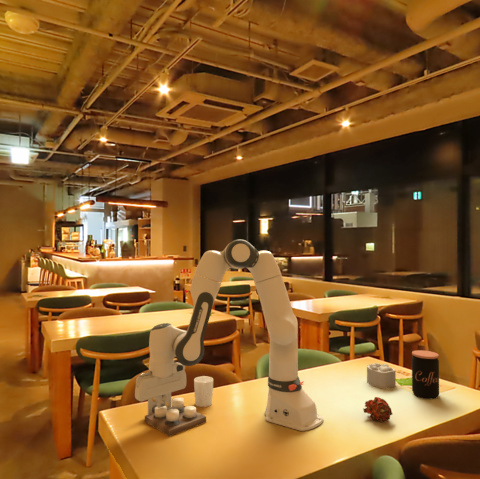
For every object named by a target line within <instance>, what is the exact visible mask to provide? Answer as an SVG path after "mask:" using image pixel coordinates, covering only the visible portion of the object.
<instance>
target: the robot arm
mask: <svg viewBox="0 0 480 479" xmlns="http://www.w3.org/2000/svg"><path fill="white" fill-rule="evenodd" d="M245 268H246V269H248V271H249V273H250V274H251V276H252V278H253V282H254V285H255V290H256V293H257V295H258V298H259V299H258V300H259V301H260V305H261V310H262V314H263V318H264V321H265V324H266V328H267V332H268V336H269V352H268V353H269V354H268V376H267V386H268V394H267V402H266V407H265V411H264V415H265V421H266V422H268V423H273V424H276V425H280V426H284V427H286V428H289V429H293V430H295V431H296V430H297V431H301V432H302V431H304V432H305V431H309V430H313V429H315V428H316V427H317V428H318V427H319V426H321V424H322V423H323V422H324V417H323V415H320V414H318V410H317V409H318V408H317V406H316V403H315V401H314V400H313V399H312V398H311V397H310V396H309V395H308V393H306V392H305V390H304V389H303V385H304V383H305V381H303V380H302V381H301V380H300V377H299V353H298V352H299V345H298V343H299V340H298V338H299V337H298V336H299V334H298V332H299V323H298V322H299V321H298V319H297V316H296V315H295V313H294V311H293V307H292V304H291V301H290V297H289V293H288V291H287V290H288V289H287V287H286V285H285V282H284V278H283V275H282V272H281V269H280V266H279V265H278V262H277V260H276V258H275V257H274V254H273V253H272V252H271V251H268V250H259V251H258V250H257V248H255V246H253V245H252V243H250V242H249V241H247V240H245V239H239V238H238V239H234V240H232V241H231V242H229V243H228V244H227V245H226V247H225V248H224V249H223V250H222V251H219V250H215V249H214V250H213V249H212V250H207V251H205V252H204V253H203V255H202V256H201V258H200V259H199V261H198V263H197V266H196V268H195V271H194V274H193V276H192V279H191V284H190V288H189V289H190V290H189V292H190V295H191V299H192V304H193V305H192V306H193V308H192V312H191V313H192V314H191V317H190V321H189V324H188V327H187V330H185V329H180V328H178V327H176V326H174V325H172V324H171V323H170V322H169V323H168V322H167V323H159V324H157V325H154V326H153V327H152V328H151V330H150V333H149V339H148V340H149V341H148V343H149V345H148V350H149V351H148V352H149V356H150V357H149V360H148V361H149V362H148V371H147V372H144V373H139V375H138V376H137V377H136V378H135V388H134V389H135V390H134V398H135V399H136V400H137V401H139V402H141V403H142V402H144V401H145V402H146V401H148V399H152V398H154V399H155V400H156V402H157V407H158V408H161V407H164V406H166V401H167V399H168V397H169V393H171V394H172V393H174V392H177V391H180V390H184V389H185V388H186V387H187V374H186V371H185V370H186V367H192V366H195V365H197V364H198V363H200V362H201V360H202V359H203V358H204V354H205V335H206V331H207V328H208V324H209V322H210V317H211V313H212V311H213V310H212V309H213V306H214V304H215V300H216V299H217V296H218V293H219V291H220V289H221V285H222V283H223V279H224V277H225V274H226V272H227V271H228V270H242V269H245ZM175 358H176V360H177V361H175V360H174V359H175ZM161 395H163V399H162V401H160V400H159V399H160V396H161Z"/></svg>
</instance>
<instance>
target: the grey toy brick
mask: <svg viewBox="0 0 480 479" xmlns="http://www.w3.org/2000/svg"><path fill="white" fill-rule="evenodd" d="M366 382H367V384H369V385H371V386H373V387H376V388H379V389H390V388H394V387H396V384H397V383H396V369H394V368H392V367H391V366H389V364H387V363H383V364H380V363H379V362H375V363H370V364H368V365H367V366H366Z"/></svg>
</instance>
